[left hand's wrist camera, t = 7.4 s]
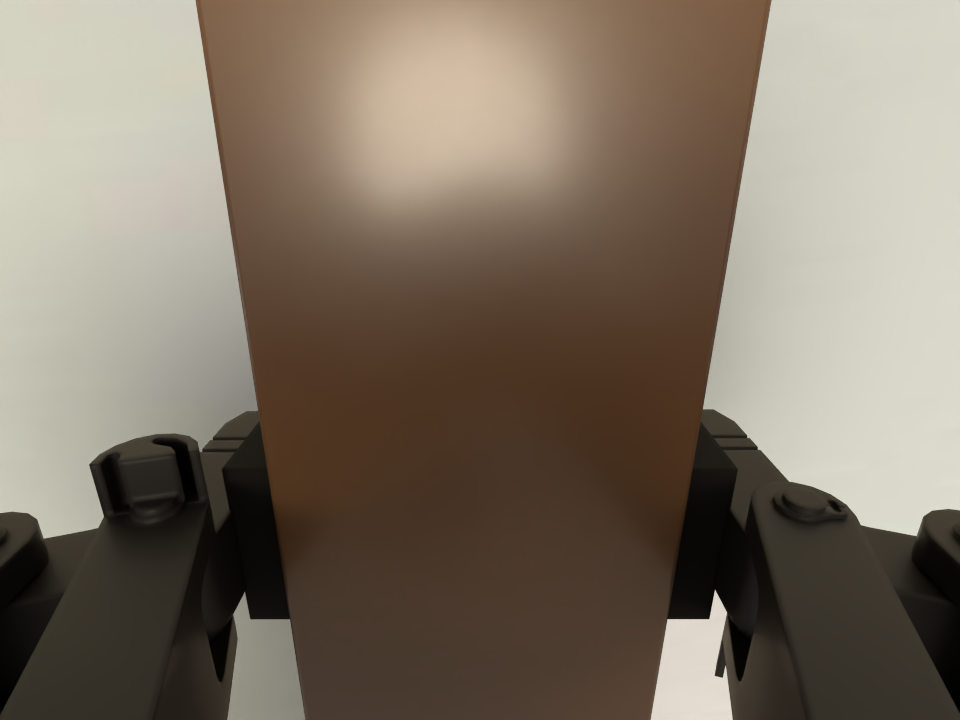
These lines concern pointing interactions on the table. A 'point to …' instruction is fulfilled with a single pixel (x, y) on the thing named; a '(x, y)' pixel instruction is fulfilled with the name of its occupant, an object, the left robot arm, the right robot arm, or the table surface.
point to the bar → (480, 329)
